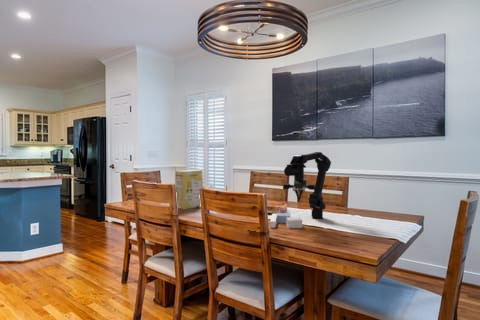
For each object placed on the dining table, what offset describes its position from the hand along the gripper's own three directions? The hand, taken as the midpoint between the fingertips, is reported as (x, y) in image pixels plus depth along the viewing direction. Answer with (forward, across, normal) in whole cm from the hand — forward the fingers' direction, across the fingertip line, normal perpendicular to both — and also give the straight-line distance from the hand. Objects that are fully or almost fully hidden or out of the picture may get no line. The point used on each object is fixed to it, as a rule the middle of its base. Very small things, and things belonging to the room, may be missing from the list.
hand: (298, 200), depth 191 cm
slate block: (+13, -9, +1) cm, 16 cm away
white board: (+13, -15, -5) cm, 20 cm away
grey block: (+13, -2, -10) cm, 17 cm away
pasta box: (+14, -83, +36) cm, 92 cm away
